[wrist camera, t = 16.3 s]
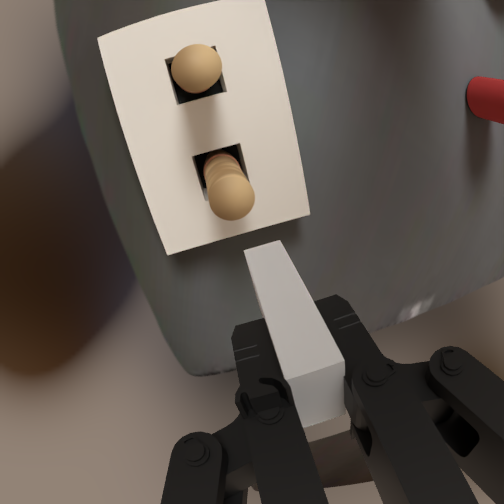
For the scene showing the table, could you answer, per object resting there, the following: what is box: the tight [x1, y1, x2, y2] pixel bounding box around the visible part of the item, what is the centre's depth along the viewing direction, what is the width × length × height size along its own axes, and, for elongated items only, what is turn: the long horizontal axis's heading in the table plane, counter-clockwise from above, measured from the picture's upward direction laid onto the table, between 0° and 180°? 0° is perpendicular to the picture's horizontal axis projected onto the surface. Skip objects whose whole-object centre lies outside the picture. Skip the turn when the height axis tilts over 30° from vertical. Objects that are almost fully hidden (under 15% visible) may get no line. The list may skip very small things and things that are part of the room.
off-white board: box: [97, 0, 310, 255], centre depth 30 cm, size 16×24×4 cm, turn 13°
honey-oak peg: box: [204, 149, 255, 221], centre depth 29 cm, size 4×4×13 cm
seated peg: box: [171, 44, 222, 93], centre depth 24 cm, size 4×4×13 cm
